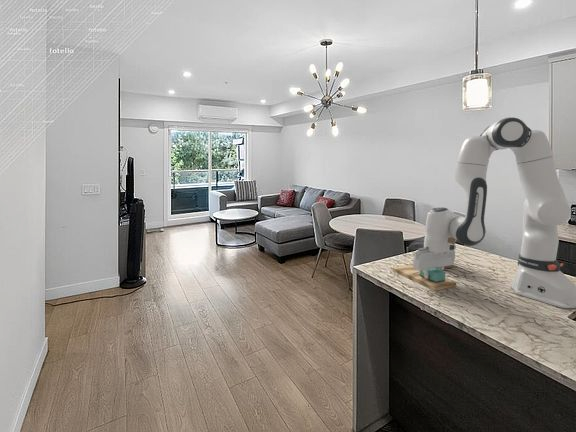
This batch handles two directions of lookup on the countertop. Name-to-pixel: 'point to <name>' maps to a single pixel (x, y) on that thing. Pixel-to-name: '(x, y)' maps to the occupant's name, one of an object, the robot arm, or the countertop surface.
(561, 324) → the countertop surface
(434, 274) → the block
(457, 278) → the countertop surface
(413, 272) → the oak board
